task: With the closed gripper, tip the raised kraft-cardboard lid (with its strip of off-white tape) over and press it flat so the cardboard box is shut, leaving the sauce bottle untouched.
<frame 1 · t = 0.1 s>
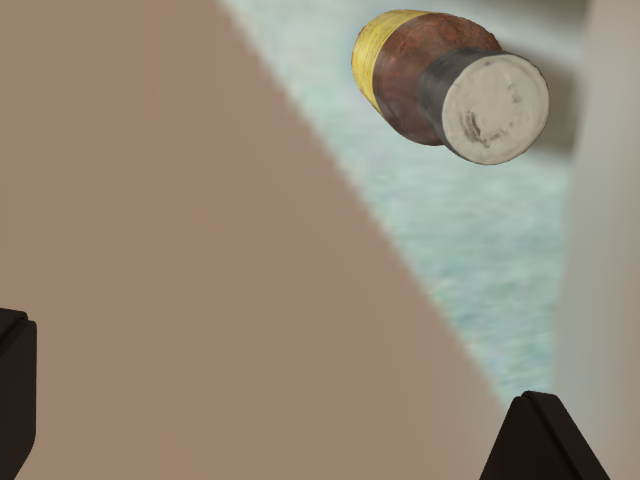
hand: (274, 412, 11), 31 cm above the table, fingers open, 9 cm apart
sauce bottle: (397, 57, 39), on the table
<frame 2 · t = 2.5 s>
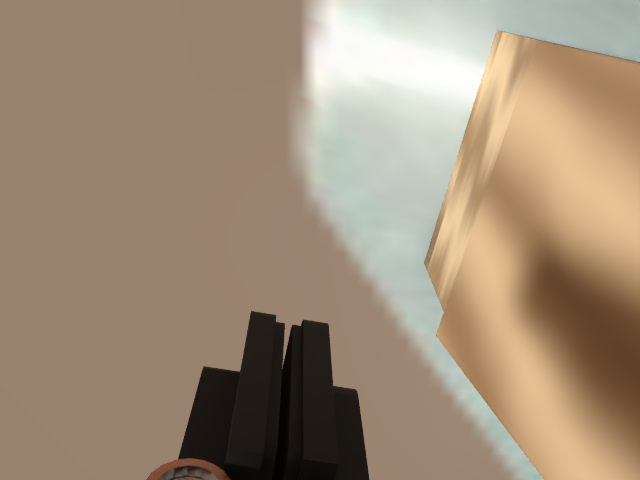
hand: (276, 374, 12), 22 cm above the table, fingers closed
lid: (596, 286, 19), point 15 cm above the table, hinge at 75.0°
box: (571, 179, 33), on the table
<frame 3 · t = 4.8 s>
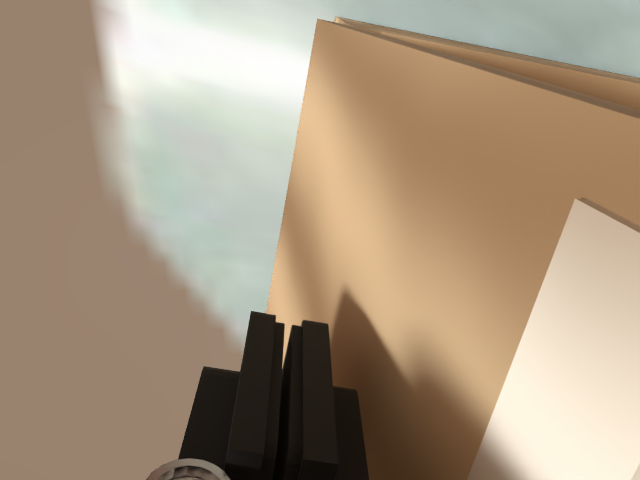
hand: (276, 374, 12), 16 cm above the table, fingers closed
lid: (360, 362, 13), point 15 cm above the table, hinge at 75.0°, touching gripper
box: (447, 196, 28), on the table
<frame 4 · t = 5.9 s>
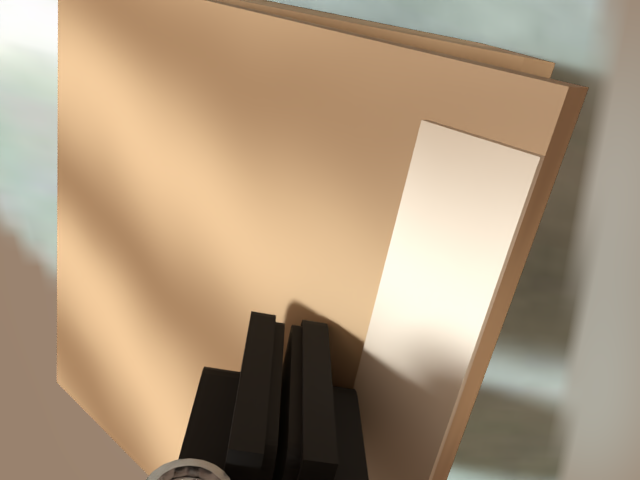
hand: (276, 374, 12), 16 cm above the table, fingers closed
lid: (209, 296, 15), point 13 cm above the table, hinge at 41.3°, touching gripper
box: (297, 168, 27), on the table
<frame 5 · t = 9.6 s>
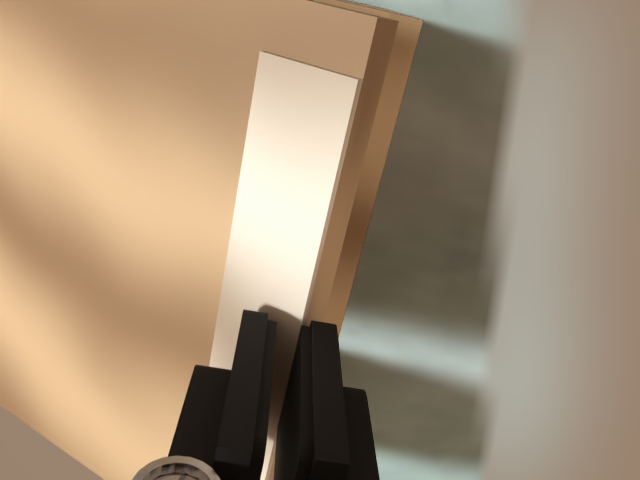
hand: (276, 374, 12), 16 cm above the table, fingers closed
lid: (78, 239, 15), point 12 cm above the table, hinge at 29.8°, touching gripper
box: (201, 136, 26), on the table
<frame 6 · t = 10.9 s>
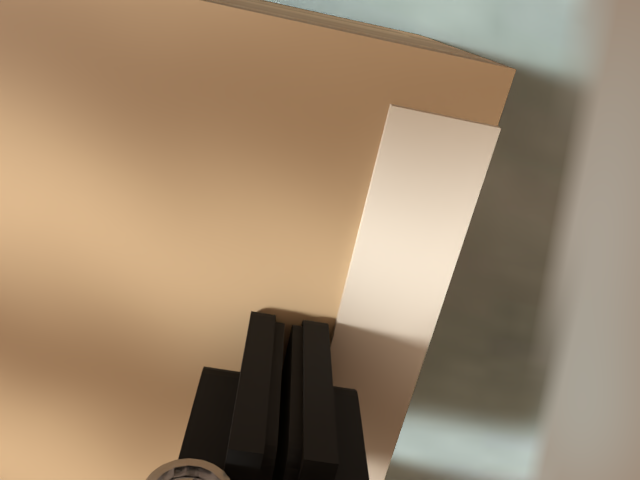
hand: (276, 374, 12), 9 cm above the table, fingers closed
lid: (93, 330, 12), point 9 cm above the table, hinge at 0.2°
box: (177, 197, 20), on the table
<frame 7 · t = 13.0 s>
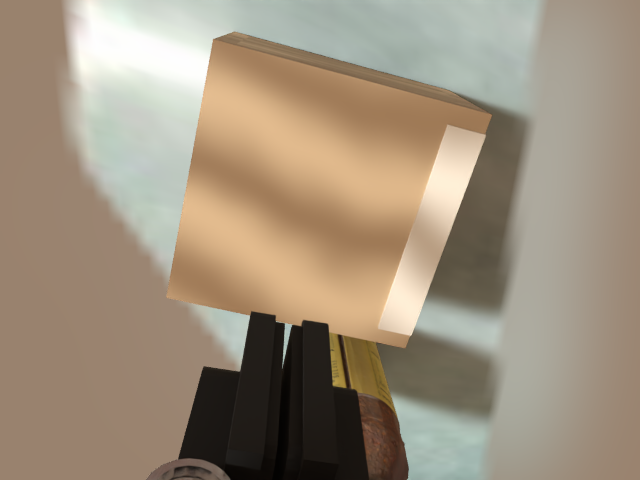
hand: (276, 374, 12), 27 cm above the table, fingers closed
sauce bottle: (336, 340, 44), on the table
lid: (319, 208, 30), point 9 cm above the table, hinge at 0.2°
box: (315, 166, 38), on the table
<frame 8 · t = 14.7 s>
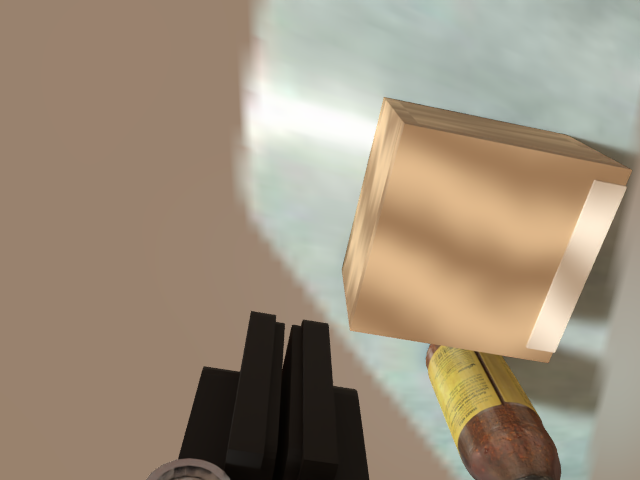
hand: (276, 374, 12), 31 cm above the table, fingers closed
sauce bottle: (460, 351, 50), on the table
lid: (481, 252, 36), point 9 cm above the table, hinge at 0.2°
box: (449, 205, 44), on the table
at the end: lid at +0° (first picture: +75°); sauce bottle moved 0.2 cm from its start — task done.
